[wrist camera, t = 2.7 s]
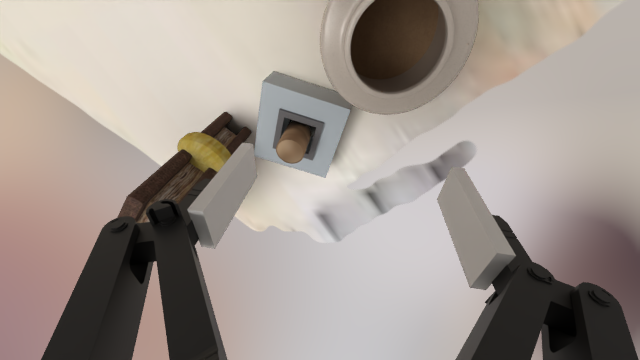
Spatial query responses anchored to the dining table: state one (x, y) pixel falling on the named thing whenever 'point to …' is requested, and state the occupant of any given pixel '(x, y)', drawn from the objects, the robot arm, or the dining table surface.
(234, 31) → the dining table surface
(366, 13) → the vase
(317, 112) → the socket block
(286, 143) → the dowel
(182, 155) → the book
